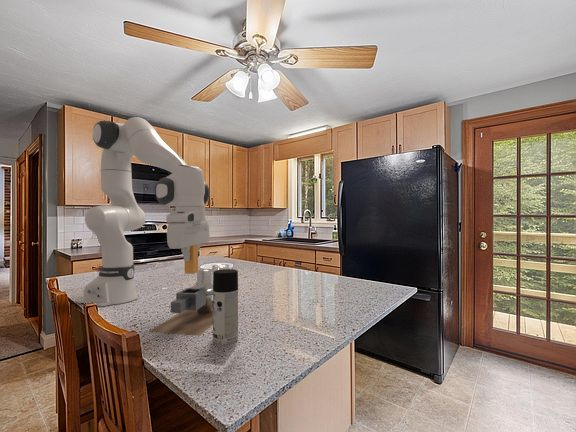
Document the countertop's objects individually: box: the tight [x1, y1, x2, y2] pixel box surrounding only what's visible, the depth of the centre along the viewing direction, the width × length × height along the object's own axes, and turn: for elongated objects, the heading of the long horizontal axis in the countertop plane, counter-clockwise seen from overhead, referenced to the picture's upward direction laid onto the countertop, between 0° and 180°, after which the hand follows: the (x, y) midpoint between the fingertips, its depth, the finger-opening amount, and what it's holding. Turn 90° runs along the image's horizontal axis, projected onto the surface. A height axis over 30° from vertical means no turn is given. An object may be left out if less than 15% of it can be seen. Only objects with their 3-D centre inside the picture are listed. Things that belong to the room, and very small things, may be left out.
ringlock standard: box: [170, 268, 213, 314], centre depth 97 cm, size 11×24×14 cm, turn 170°
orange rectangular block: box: [184, 245, 199, 275], centre depth 94 cm, size 3×3×11 cm
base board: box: [148, 304, 213, 337], centre depth 97 cm, size 16×26×2 cm, turn 170°
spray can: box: [212, 268, 239, 346], centre depth 80 cm, size 7×7×20 cm
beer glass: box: [211, 263, 230, 285], centre depth 117 cm, size 7×7×15 cm
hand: (191, 259), depth 94 cm, fingers closed on orange rectangular block, 3 cm apart
